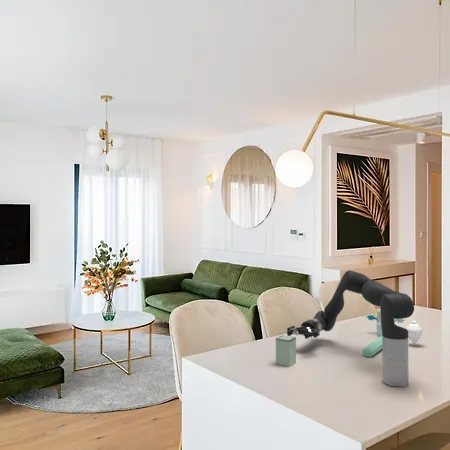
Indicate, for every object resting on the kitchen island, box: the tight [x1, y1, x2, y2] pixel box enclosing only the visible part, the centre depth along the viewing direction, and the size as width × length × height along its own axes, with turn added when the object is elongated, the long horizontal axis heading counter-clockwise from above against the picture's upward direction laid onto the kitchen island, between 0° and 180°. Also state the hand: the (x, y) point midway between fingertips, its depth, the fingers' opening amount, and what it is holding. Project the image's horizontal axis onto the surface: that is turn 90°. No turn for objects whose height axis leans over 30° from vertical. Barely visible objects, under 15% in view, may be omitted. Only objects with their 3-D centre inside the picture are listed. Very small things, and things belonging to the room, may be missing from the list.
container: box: [362, 335, 382, 359], centre depth 219 cm, size 6×6×25 cm
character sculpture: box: [366, 308, 406, 337], centre depth 249 cm, size 20×12×13 cm, turn 60°
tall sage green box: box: [275, 334, 297, 367], centre depth 201 cm, size 6×6×11 cm
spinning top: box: [405, 320, 424, 347], centre depth 228 cm, size 8×8×12 cm
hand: (296, 335), depth 210 cm, fingers open, 8 cm apart
